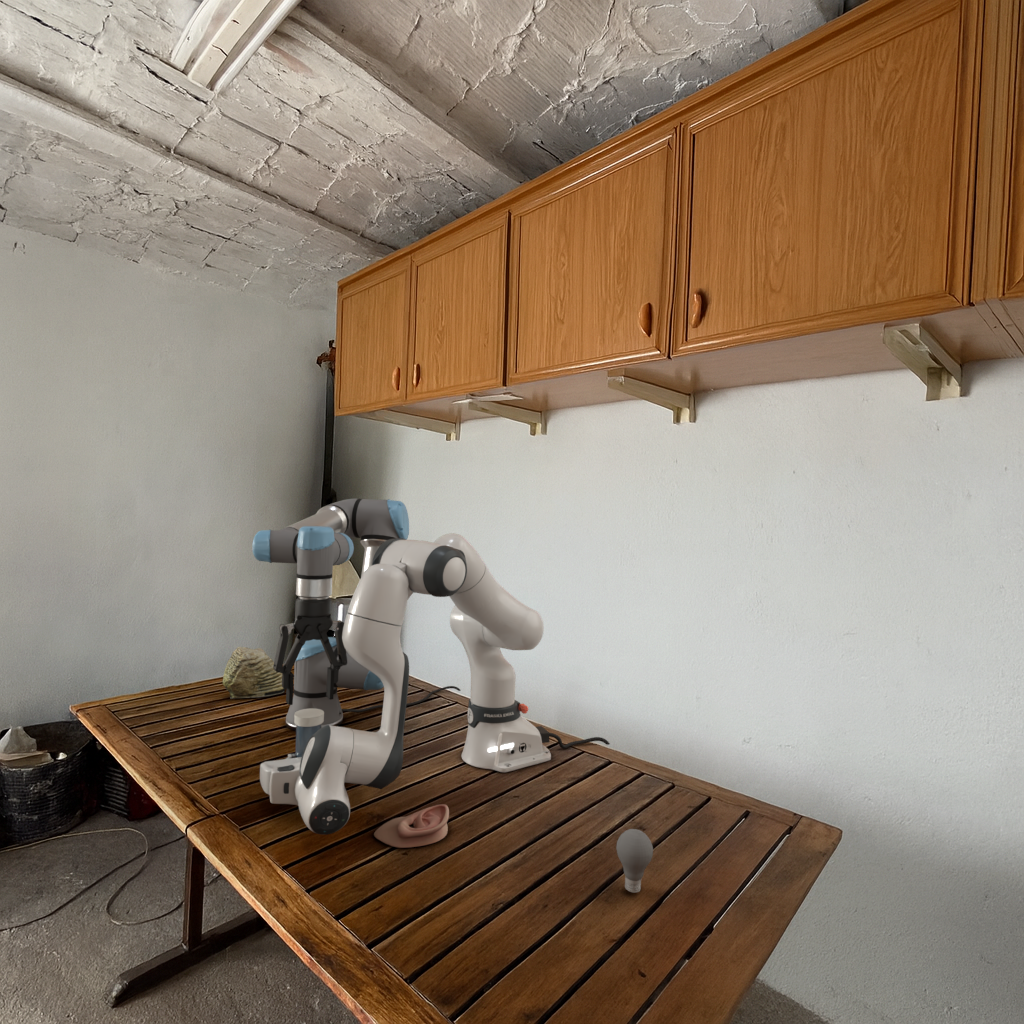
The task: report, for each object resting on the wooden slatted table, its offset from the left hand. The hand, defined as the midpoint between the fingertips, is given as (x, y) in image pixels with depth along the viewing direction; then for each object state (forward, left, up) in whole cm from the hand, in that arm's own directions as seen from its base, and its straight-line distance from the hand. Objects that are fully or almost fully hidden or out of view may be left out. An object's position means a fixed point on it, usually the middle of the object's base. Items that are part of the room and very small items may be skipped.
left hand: (309, 700), depth 139 cm
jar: (0, 0, -19) cm, 19 cm away
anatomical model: (-2, +32, -19) cm, 37 cm away
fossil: (-24, -65, -19) cm, 71 cm away
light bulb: (-15, +72, -19) cm, 76 cm away
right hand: (0, -1, -12) cm, 12 cm away
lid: (0, 0, -3) cm, 3 cm away
